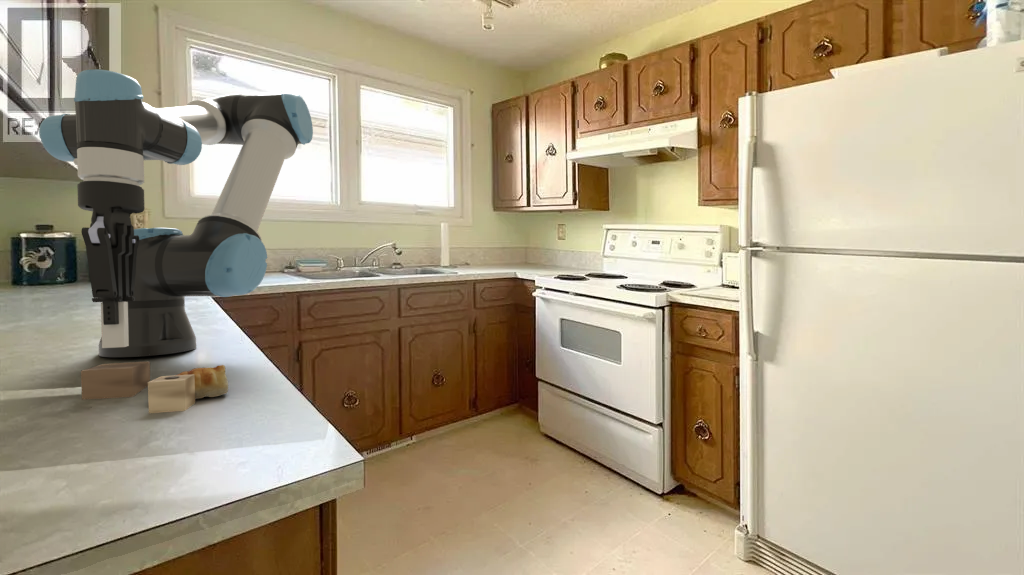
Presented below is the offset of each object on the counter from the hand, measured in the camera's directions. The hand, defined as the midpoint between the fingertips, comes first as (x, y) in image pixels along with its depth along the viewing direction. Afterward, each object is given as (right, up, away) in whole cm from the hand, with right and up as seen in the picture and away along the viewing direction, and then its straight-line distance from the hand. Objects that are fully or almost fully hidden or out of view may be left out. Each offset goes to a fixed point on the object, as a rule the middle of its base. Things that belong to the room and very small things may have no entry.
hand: (115, 346), depth 72 cm
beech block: (+13, -7, -7) cm, 17 cm away
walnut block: (0, -7, 0) cm, 7 cm away
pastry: (+9, -8, 0) cm, 12 cm away
